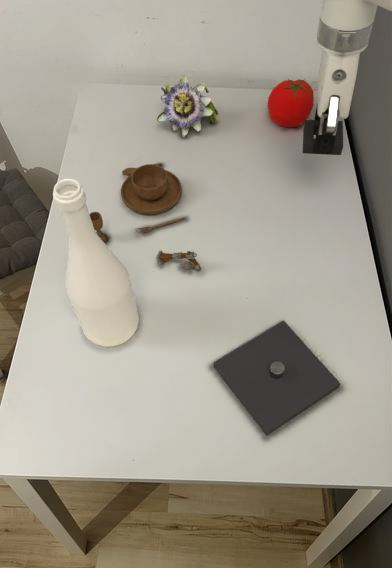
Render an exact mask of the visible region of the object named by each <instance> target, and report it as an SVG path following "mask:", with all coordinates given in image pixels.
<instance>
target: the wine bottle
mask: <svg viewBox="0 0 392 568" xmlns="http://www.w3.org/2000/svg"><path fill="white" fill-rule="evenodd" d="M52 197H53V200H54V202H55V206H56V208H57V209H58V210H60V214H61V217H62V220H63V223H64V226H65V229H66V232H67V236H68V239H69V240H68V242H69V243H68V244H69V245H68V246H69V247H68V255H67V263H66V264H67V265H66V271H65V291H66V294H67V297H68V300H69V302H70V304H71V307H72V309H73V312H74V313H75V316H76V319H77V320H78V323H79V325H80V328H81V330H82V332H83V334H84V336H85V337H86V338H87V339H88V340H89V341H90V342H92V343H93V344H95V345H97V346H100V347H108V348H111V347H117V346H120V345H123V344H124V343H126V342H128V341H129V340H130V339H131V338H132V337H133V336H134V334H135V333H136V332H137V329H138V327H139V321H140V317H139V312H138V307H137V303H136V299H135V295H134V290H133V286H132V281H131V277H130V274H129V271H128V269H127V268H126V266H125V265H124V264H123V263H122V261H121V259H119V257H118V256H116V254H115V253H114V252H113V250H111V249H110V248H109V246H108V245H107V243H104V242H103V241H102V240H101V239H100V237H99V236H98V235H97V233H96V232H97V231H96V230H94V227H93V224H92V221H91V218H90V215H89V214H90V212H89V208H88V206H87V203H86V202H87V196H86V192H85V188H84V186H83V185H82V184H81V183H80V182H79V181H78V180H76V179H74V178H63V179H61V180H59V181H58V182H56V183H55V184H54V187H53V191H52Z"/></svg>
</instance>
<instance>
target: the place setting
mask: <svg viewBox="0 0 392 568" xmlns="http://www.w3.org/2000/svg"><path fill="white" fill-rule="evenodd" d="M161 165H163V164H162V163H161V162H160V163H154V164H152V163H149V164H144V165H140V166H139V167H127V168H125V169H123V170H122V171H121V173H122V175H125V176H127V175H128V176H127V177H126V178H125V179H124V181H123V182H122V185H121V186H120V196H121V200H122V201H123V203H124V204H125V206H126V207H128V208H129V209H130V210H132V211H134V212H136V213H138V214H142V215H158V214H162V213H164V212H166V211H168V210H170V209H173V207H174V206H175V205H176V204H177V203H178V201H179V200H180V198H181V195H182V191H183V189H182V183H181V181H180V179H179V177H177V175H175V173H173V172H171V171H169V170H167V169H165V168H163V167H162V166H161ZM89 215H90V218H91V221H92V224H93V227H94V230H95V232H96V233H97V235H98V236H99V237H100V239H101V240H102V241H103V242H104V243H105V244H107V242H108V241H109V236H108V234H107V233H104V232H103V231H102V229H103V227H104V220H103V217H102V214H101V212H99V211H91V212H89ZM183 220H186V218H185V217H180V218H176V219H173V220H170V221H169V220H168V221H166V222H163V223H159V224H156V225H153V226H145V227H137V228H135V230H136V232H137V233H138V234H145V233H150V232H152V231H153V230H154V229H156V228H160V227H163V226H166V225H167V226H168V225H170V224H171V225H172V224H173V223H177V222H180V221H183Z"/></svg>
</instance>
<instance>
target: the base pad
mask: <svg viewBox="0 0 392 568" xmlns="http://www.w3.org/2000/svg"><path fill="white" fill-rule="evenodd" d="M213 368H214V370H216V372H217V374H219V376H220V377H221V378H222V380H223V381H224V382H225V384H226V385H227V386H228V387H229V389H230V390H231V391H232V393H233V394H234V395H235V397H236V398H237V399H238V400H239V402H240V404H241V405H242V406H244V408H245V410H246V411H247V412H248V413H249V415H250V416H251V417H252V419H253V420H254V422H255V423H256V424H257V425H258V427H259V428H260V429H261V430H262V432H263V433H264V434H265V436H269V435H271V434H272V433H273V432H275V431H276V430H278V429H280V428H281V427H282V426H284V425H285V424H286V423H288V422H290V421H291V420H293V419H294V418H296V417H297V416H299V415H300V414H302V413H303V412H305V411H306V410H307V409H309V408H311V407H313V405H315V404H317V403H318V402H320V401H321V400H323V399H324V398H326V397H327V396H329V395H330V394H332V393H333V392H335V391H336V390H338V389H339V388H340V386H341V382H340V381H339V380H338V379H337V378H336V377H335V376H334V375H333V373H331V371H330V370H329V369H328V368H327V367H326V365H324V364H323V362H322V361H321V360H320V359H319V358H318V357H317V356H316V354H315V353H314V352H313V351H312V350H311V349H310V348H309V347H308V345H307V344H305V342H304V341H303V340H302V339H301V338H300V337H299V336H298V334H296V333H295V331H294V330H293V329H292V328H291V326H289V324H287V322H286V321H285V320H284V319H283V320H282V321H280V322H279V323H276V324H275V325H273V326H271V327H270V328H268V329H267V330H265V331H263V332H262V333H260V334H258V335H256V336H255V337H253V338H251V339H250V340H248V341H247V342H245V343H243V344H241V345H240V346H238V347H237V348H235V349H233V350H232V351H230V352H229V353H227V354H225V355H223V356H222V357H220V358H218V359H217V360H215V361H214V362H213Z"/></svg>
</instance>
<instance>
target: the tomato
mask: <svg viewBox="0 0 392 568" xmlns="http://www.w3.org/2000/svg"><path fill="white" fill-rule="evenodd" d="M305 79H306V78H304V79H300V78H298V79H296V80H292V79H289V78H287V80H283V81H281V82H279V83H278V84H276V86H275V87H273V89H272V90H271V92H270V93H269V95H268V98H267V104H266V105H267V110H268V114H269V117H270V119H271V121H273V122H274V123H276V124H277V125H278V126H281V127H284V128H296V127H298V126H300V125H302V124H304V122H305V120H308V118H309V116H310V114H311V113H312V110H313V109H314V105H315V104H314V101H315V98H314V97H315V96H314V89H313V88H312V86H311V85H310V84H309V82H307V81H306V80H305Z"/></svg>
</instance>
